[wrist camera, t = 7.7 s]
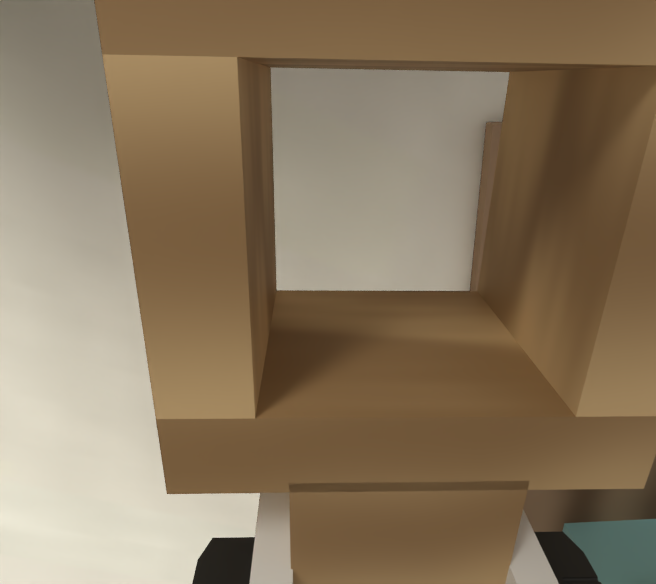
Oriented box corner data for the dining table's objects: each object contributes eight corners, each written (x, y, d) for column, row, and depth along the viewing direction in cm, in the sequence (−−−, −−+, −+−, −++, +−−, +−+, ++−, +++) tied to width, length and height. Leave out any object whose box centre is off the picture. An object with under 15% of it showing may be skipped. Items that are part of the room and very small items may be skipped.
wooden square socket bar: (460, 671, 18) (509, 867, 14) (245, 677, 18) (223, 878, 14) (596, -10, 10) (847, -89, 5) (190, -20, 10) (77, -112, 5)
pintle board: (444, 546, 37) (465, 621, 32) (486, 122, 24) (531, 137, 19) (709, 532, 37) (771, 605, 32) (884, 108, 25) (1031, 119, 20)
